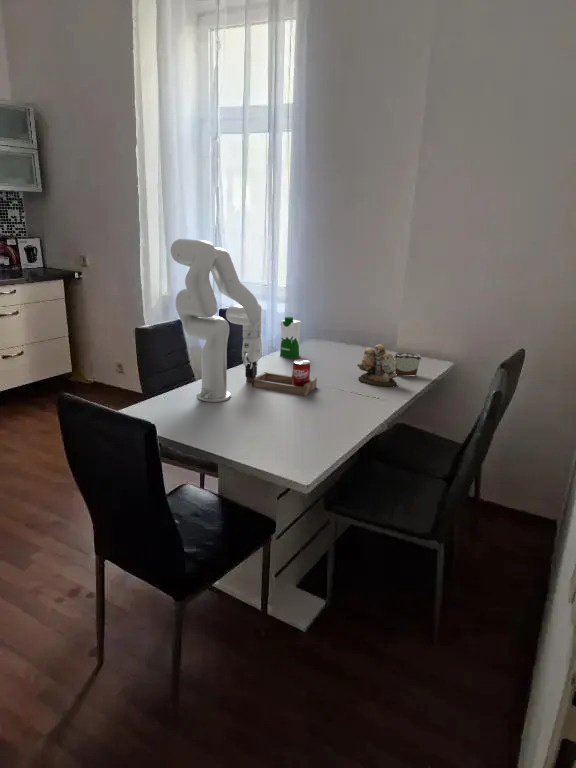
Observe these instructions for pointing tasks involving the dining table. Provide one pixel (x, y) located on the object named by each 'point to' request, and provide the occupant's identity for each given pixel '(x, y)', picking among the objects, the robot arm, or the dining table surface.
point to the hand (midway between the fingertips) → (251, 375)
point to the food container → (407, 363)
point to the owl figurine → (378, 367)
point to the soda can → (300, 372)
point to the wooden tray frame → (261, 383)
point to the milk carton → (290, 337)
